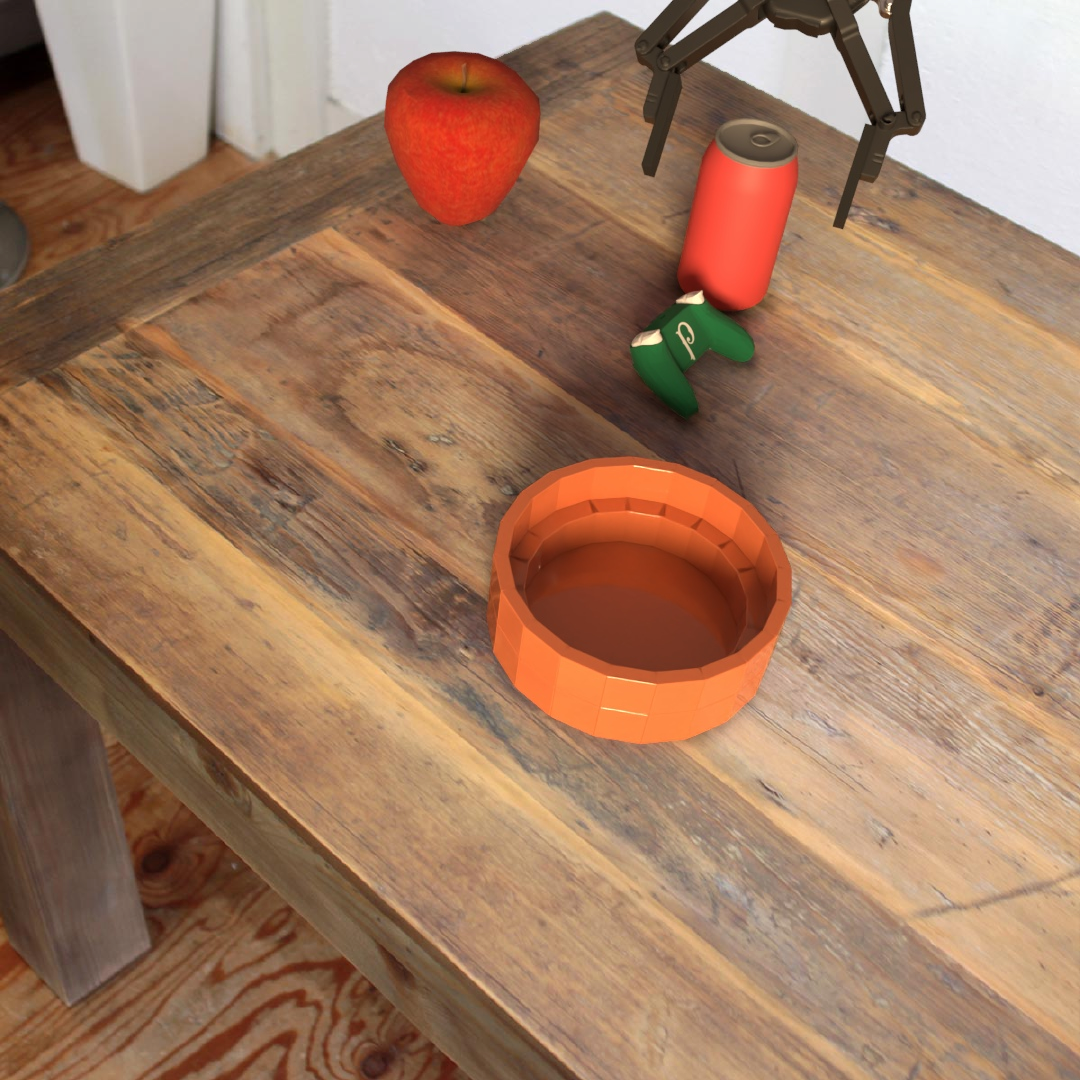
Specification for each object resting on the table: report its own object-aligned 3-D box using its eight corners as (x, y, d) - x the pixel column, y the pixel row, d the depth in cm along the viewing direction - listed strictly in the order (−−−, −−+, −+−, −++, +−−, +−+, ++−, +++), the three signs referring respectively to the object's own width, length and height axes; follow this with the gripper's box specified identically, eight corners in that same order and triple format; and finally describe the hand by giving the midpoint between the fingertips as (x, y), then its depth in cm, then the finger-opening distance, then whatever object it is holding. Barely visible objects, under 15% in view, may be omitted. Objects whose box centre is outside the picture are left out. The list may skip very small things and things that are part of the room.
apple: (551, 244, 98) (571, 94, 89) (412, 268, 94) (417, 113, 85) (496, 162, 104) (509, 14, 95) (364, 181, 101) (364, 29, 92)
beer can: (784, 300, 96) (827, 153, 87) (714, 326, 93) (751, 177, 84) (726, 250, 99) (762, 104, 91) (657, 275, 97) (687, 126, 88)
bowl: (768, 552, 79) (792, 481, 75) (763, 774, 69) (791, 707, 64) (508, 509, 79) (517, 436, 75) (465, 724, 69) (472, 654, 64)
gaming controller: (722, 363, 93) (681, 289, 92) (764, 349, 90) (722, 272, 89) (653, 431, 88) (608, 354, 86) (695, 419, 85) (649, 339, 83)
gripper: (1010, -40, 92) (914, 257, 93) (665, -123, 96) (577, 164, 97) (1033, -89, 85) (928, 234, 86) (658, -177, 88) (563, 134, 90)
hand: (742, 197), depth 92 cm, fingers open, 13 cm apart
